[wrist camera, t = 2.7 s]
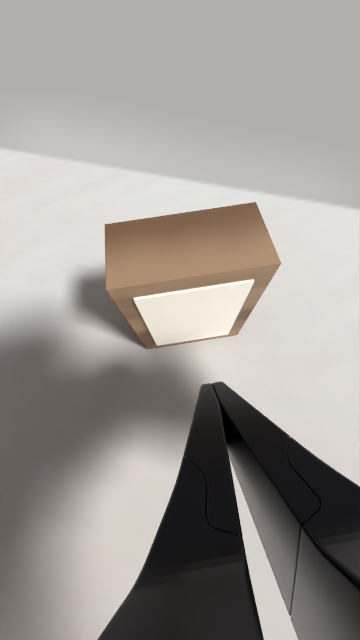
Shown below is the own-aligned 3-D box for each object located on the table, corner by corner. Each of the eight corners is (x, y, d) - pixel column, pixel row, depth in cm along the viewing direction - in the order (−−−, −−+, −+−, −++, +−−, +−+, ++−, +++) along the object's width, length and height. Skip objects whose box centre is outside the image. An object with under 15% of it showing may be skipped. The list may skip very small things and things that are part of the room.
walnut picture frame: (237, 336, 19) (282, 266, 10) (147, 350, 19) (105, 293, 10) (226, 295, 21) (255, 202, 11) (143, 308, 20) (104, 224, 11)
